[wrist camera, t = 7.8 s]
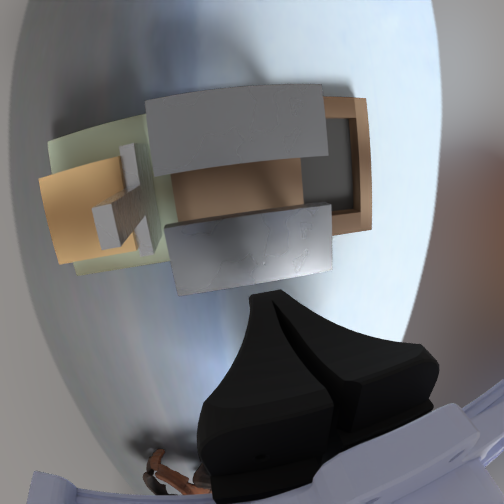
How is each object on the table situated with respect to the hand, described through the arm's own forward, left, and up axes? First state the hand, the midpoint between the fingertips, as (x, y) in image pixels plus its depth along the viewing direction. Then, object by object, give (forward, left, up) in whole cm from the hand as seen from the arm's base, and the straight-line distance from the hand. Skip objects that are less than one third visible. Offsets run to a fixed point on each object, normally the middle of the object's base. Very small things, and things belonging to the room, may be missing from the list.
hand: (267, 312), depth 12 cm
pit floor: (+5, -7, -10) cm, 13 cm away
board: (+5, +1, -10) cm, 11 cm away
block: (+5, +8, -9) cm, 13 cm away
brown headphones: (-29, +10, -11) cm, 32 cm away
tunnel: (+5, 0, -9) cm, 10 cm away
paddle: (+5, +5, -9) cm, 11 cm away
